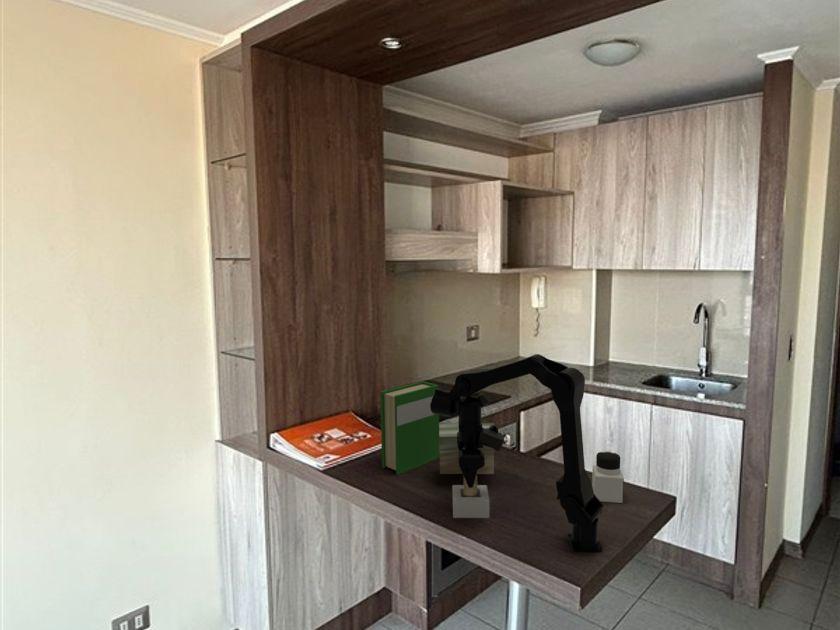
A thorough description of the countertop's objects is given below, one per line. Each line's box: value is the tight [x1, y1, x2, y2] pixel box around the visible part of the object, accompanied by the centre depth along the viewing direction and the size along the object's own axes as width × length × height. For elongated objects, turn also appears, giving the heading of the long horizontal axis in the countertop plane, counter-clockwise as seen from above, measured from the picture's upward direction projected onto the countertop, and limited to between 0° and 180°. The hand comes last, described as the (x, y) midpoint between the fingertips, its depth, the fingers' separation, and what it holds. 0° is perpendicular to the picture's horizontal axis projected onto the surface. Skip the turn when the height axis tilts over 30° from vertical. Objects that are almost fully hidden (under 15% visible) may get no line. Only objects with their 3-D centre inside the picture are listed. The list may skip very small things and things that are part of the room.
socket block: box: [452, 484, 490, 519], centre depth 141 cm, size 9×9×4 cm
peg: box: [462, 474, 478, 497], centre depth 141 cm, size 4×4×9 cm
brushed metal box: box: [439, 422, 497, 475], centre depth 158 cm, size 12×16×15 cm
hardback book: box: [379, 380, 440, 475], centre depth 171 cm, size 18×7×24 cm, turn 134°
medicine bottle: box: [591, 450, 625, 504], centre depth 147 cm, size 7×7×12 cm
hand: (469, 479), depth 141 cm, fingers open, 9 cm apart
